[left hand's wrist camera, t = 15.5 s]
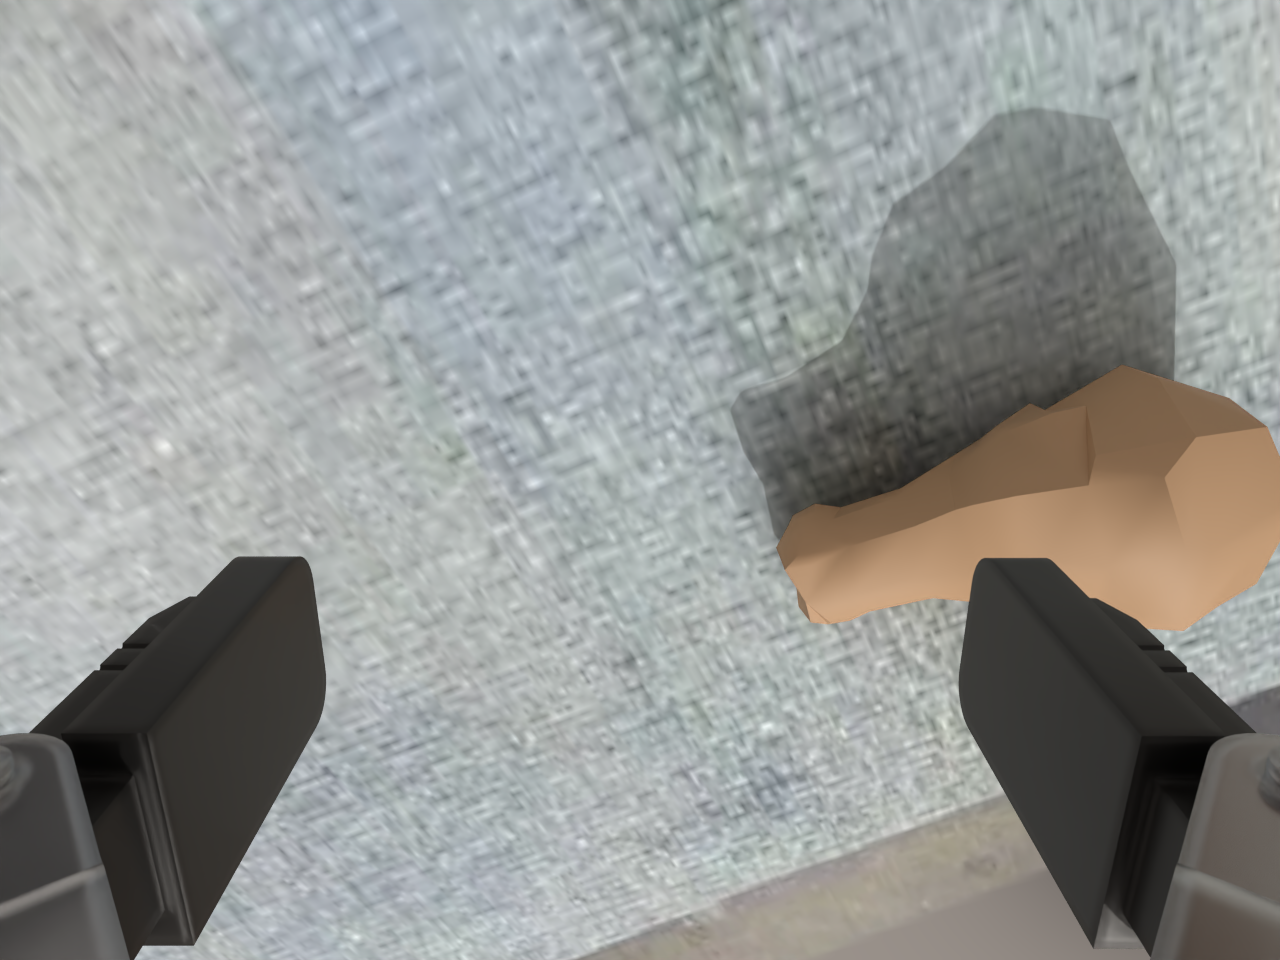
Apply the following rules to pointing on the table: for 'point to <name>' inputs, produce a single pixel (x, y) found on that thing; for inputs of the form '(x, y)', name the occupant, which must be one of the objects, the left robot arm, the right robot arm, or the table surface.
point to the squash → (1065, 509)
